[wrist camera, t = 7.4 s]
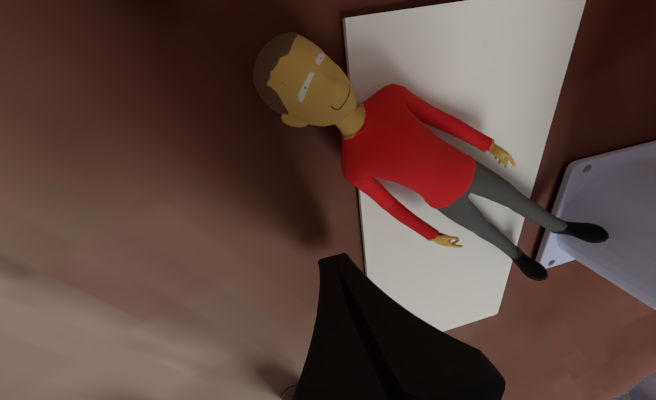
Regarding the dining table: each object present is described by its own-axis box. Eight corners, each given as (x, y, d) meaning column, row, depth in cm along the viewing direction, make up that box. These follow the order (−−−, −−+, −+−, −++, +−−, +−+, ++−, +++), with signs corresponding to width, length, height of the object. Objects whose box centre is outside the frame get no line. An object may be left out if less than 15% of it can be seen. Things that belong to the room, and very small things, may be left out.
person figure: (571, 312, 13) (223, 127, 6) (496, 277, 17) (219, 133, 9) (617, 222, 13) (331, -92, 6) (532, 205, 17) (285, -1, 9)
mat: (583, -16, 11) (591, -18, 10) (494, 310, 20) (497, 313, 20) (342, 19, 9) (344, 17, 9) (372, 349, 19) (373, 353, 19)
